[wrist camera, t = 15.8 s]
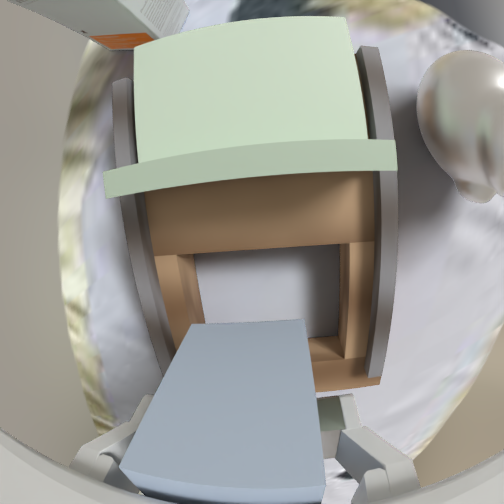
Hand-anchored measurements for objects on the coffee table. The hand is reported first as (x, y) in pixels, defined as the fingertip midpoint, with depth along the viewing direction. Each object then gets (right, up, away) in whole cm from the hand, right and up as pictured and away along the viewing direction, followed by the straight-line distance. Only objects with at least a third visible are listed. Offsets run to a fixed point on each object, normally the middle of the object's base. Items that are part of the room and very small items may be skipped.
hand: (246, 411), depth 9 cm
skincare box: (-8, +23, +6) cm, 25 cm away
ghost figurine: (+14, +14, +6) cm, 21 cm away
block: (0, +1, +2) cm, 3 cm away
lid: (0, +14, +4) cm, 15 cm away
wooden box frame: (+1, +7, +10) cm, 12 cm away
